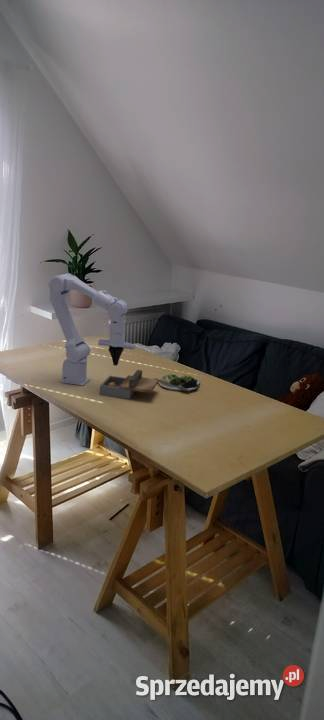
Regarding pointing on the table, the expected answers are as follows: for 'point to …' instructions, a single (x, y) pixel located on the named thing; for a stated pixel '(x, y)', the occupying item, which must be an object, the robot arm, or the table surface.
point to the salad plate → (179, 383)
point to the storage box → (115, 388)
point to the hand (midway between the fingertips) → (115, 364)
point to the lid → (138, 383)
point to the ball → (112, 384)
